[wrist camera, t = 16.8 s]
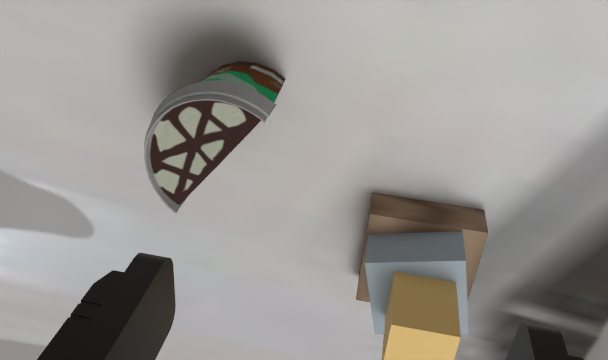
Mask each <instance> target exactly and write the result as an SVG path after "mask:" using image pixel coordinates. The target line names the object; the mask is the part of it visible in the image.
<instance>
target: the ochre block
mask: <svg viewBox="0 0 608 360" xmlns="http://www.w3.org/2000/svg"><path fill="white" fill-rule="evenodd" d="M460 339H461V333H460V321H459V309H458V297H457V286H456V282H452V281H446V280H440V279H434V278H428V277H423V276H417V275H411V274H405V273H400V272H394V276H393V281H392V286H391V291H390V296H389V300H388V305H387V310H386V315H385V327H384V340H383V354H382V360H454V358H455V354H456V351H457V348H458V345H459V342H460Z"/></svg>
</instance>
